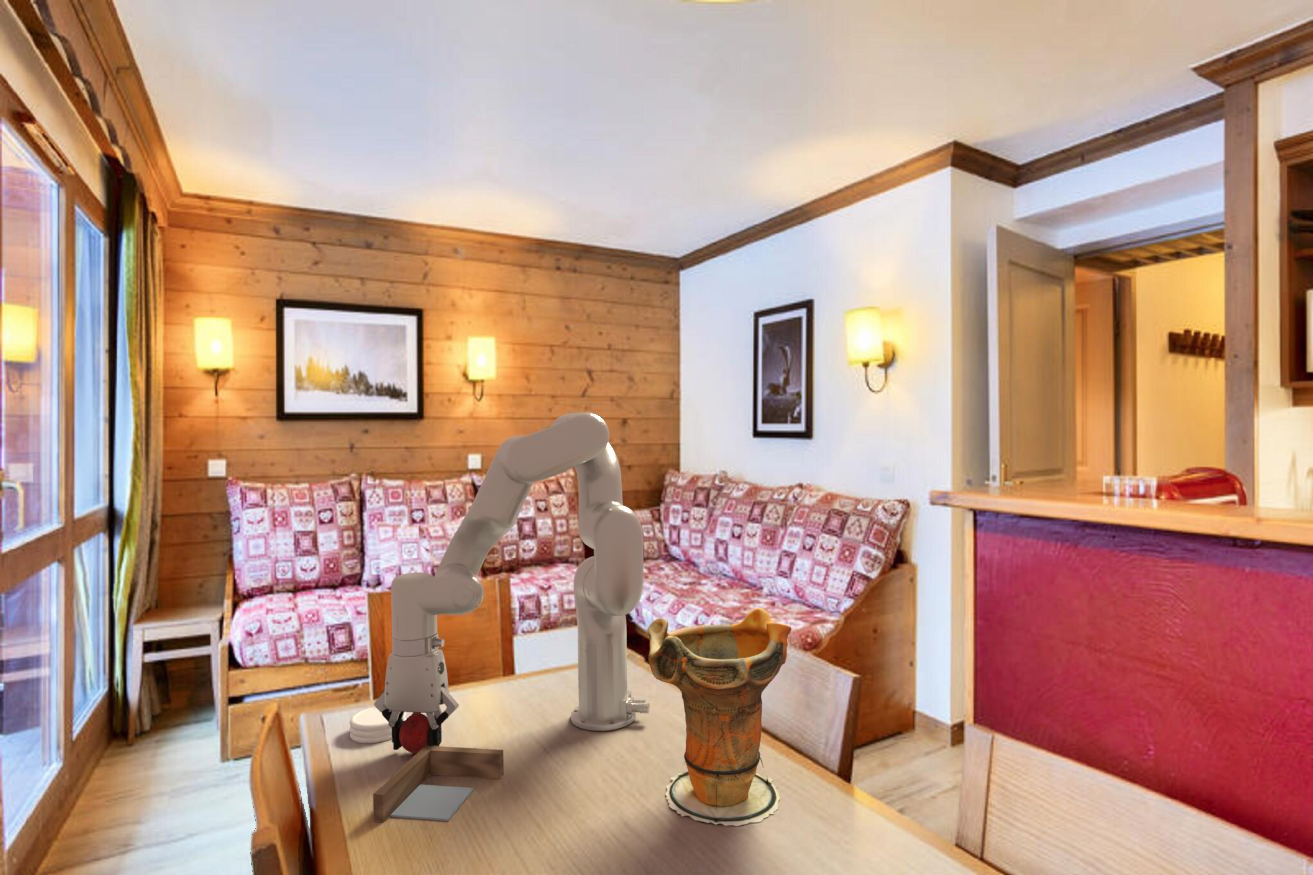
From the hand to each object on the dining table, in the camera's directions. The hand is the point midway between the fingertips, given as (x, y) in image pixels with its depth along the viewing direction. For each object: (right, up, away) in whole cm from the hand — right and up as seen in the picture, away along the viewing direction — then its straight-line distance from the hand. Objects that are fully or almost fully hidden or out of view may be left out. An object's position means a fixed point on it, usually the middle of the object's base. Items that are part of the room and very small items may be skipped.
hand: (416, 746), depth 124 cm
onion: (0, -2, 0) cm, 2 cm away
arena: (+9, -1, -15) cm, 17 cm away
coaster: (-11, -2, +10) cm, 15 cm away
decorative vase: (+52, -1, -15) cm, 54 cm away
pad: (+8, -1, -16) cm, 18 cm away
